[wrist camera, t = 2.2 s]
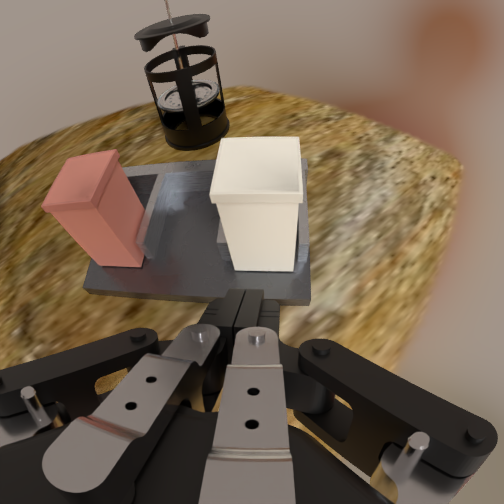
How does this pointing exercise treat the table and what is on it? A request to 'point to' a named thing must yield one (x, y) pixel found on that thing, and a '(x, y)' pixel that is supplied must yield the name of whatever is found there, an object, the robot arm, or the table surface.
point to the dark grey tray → (194, 244)
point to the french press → (186, 84)
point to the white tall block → (259, 200)
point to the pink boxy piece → (98, 208)
